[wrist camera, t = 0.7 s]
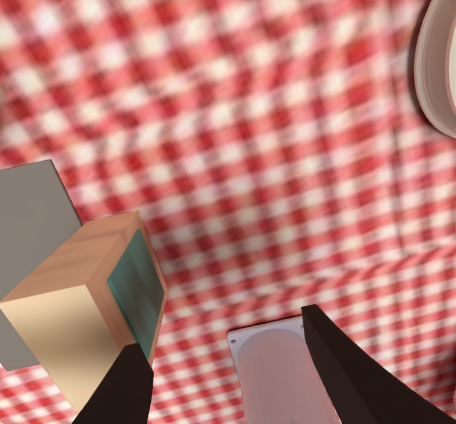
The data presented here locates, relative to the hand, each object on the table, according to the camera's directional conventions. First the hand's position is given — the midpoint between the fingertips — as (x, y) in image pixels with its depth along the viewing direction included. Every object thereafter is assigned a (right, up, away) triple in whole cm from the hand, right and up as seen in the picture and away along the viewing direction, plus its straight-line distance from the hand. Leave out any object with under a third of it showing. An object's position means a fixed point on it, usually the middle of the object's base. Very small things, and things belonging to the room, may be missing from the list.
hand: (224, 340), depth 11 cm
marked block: (-8, +2, +10) cm, 13 cm away
